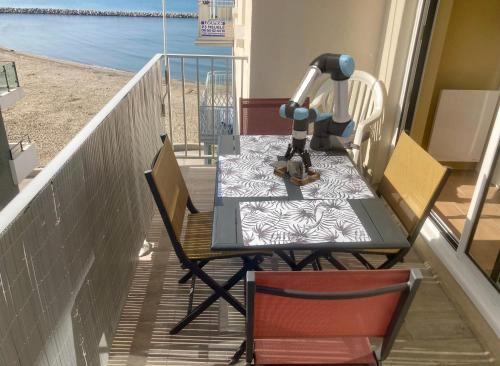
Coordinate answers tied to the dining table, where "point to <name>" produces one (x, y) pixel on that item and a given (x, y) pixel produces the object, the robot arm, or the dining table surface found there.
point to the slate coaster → (278, 164)
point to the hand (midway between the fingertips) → (296, 174)
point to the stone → (296, 169)
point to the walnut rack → (312, 178)
